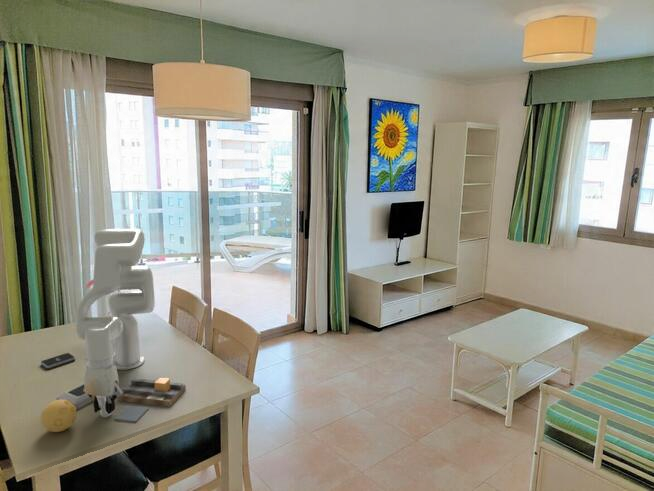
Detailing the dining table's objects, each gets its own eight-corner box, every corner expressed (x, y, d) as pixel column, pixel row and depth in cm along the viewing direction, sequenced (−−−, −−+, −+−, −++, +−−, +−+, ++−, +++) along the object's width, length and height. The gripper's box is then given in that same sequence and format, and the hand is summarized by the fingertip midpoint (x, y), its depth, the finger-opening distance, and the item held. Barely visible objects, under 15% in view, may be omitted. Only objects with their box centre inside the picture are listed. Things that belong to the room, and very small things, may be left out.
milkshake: (99, 411, 156) (95, 385, 154) (115, 410, 156) (111, 384, 154) (94, 419, 151) (90, 392, 149) (110, 418, 152) (106, 391, 150)
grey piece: (118, 400, 163) (117, 391, 162) (137, 384, 174) (136, 375, 173) (170, 406, 160) (169, 397, 159) (185, 389, 171) (185, 380, 171)
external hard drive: (40, 365, 187) (40, 361, 187) (69, 356, 196) (68, 352, 195) (47, 371, 183) (47, 366, 183) (76, 361, 192) (75, 357, 191)
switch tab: (155, 392, 164) (154, 382, 163) (160, 387, 168) (159, 377, 167) (165, 393, 164) (164, 383, 163) (170, 388, 167) (169, 378, 167)
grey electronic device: (56, 395, 159) (94, 376, 172) (57, 404, 160) (95, 385, 173) (73, 402, 155) (111, 382, 168) (74, 411, 156) (111, 391, 169)
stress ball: (38, 437, 143) (42, 430, 136) (39, 406, 147) (42, 398, 140) (74, 431, 149) (79, 424, 142) (73, 401, 153) (78, 393, 146)
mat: (113, 420, 151) (113, 418, 151) (127, 406, 159) (127, 405, 159) (135, 422, 150) (135, 421, 150) (148, 409, 158) (148, 407, 158)
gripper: (69, 364, 147) (74, 414, 151) (116, 369, 145) (120, 420, 148) (85, 354, 154) (89, 402, 158) (130, 358, 152) (133, 407, 156)
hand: (104, 410), depth 153 cm, fingers closed on milkshake, 4 cm apart
